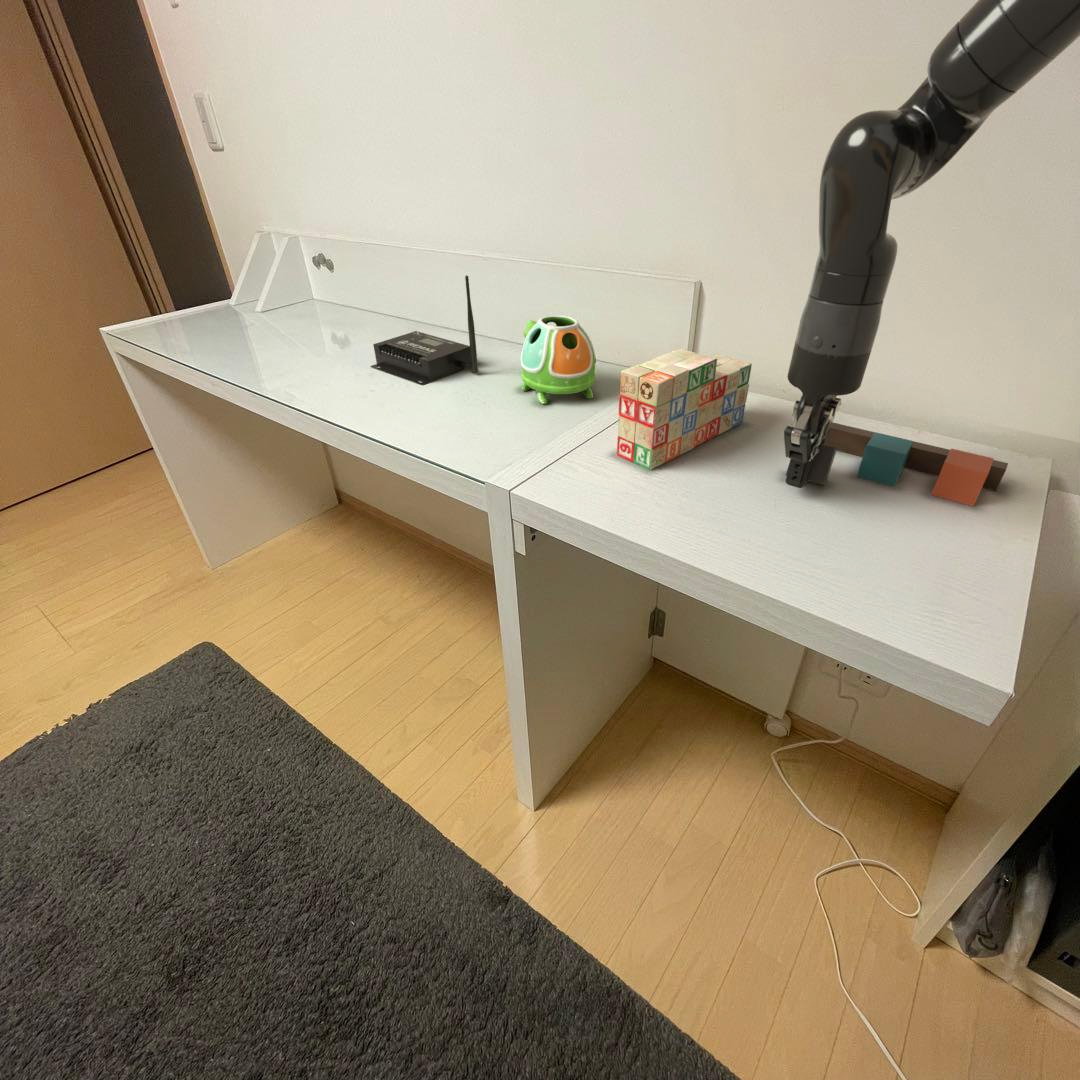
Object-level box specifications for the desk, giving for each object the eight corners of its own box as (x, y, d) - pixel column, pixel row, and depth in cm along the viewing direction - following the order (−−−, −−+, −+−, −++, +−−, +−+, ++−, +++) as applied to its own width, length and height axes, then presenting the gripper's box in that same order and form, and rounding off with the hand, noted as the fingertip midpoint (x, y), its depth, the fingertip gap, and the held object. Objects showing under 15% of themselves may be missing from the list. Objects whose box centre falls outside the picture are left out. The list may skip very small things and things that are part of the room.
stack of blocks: (708, 411, 96) (720, 332, 89) (743, 423, 92) (757, 342, 85) (615, 455, 85) (620, 369, 78) (650, 471, 81) (658, 382, 74)
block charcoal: (826, 483, 77) (837, 448, 76) (823, 484, 74) (835, 447, 72) (789, 474, 79) (799, 440, 78) (785, 475, 75) (796, 439, 74)
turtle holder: (563, 365, 115) (562, 299, 108) (609, 399, 101) (612, 326, 94) (501, 376, 111) (497, 308, 104) (540, 412, 98) (538, 337, 91)
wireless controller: (369, 366, 117) (351, 271, 107) (425, 347, 126) (413, 258, 116) (437, 390, 106) (424, 287, 96) (494, 368, 115) (487, 271, 105)
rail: (998, 484, 76) (1008, 463, 74) (996, 491, 75) (1006, 469, 73) (804, 436, 88) (809, 416, 87) (799, 441, 87) (804, 421, 85)
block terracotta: (979, 490, 75) (994, 458, 72) (973, 506, 72) (988, 473, 70) (938, 480, 77) (951, 448, 75) (931, 495, 75) (944, 462, 72)
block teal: (902, 472, 79) (913, 440, 77) (894, 486, 76) (906, 454, 74) (865, 462, 82) (875, 432, 79) (856, 476, 79) (866, 444, 76)
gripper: (853, 366, 58) (809, 517, 68) (887, 332, 67) (843, 471, 77) (776, 351, 62) (745, 497, 72) (817, 320, 70) (784, 455, 80)
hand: (796, 483), depth 74 cm, fingers closed
